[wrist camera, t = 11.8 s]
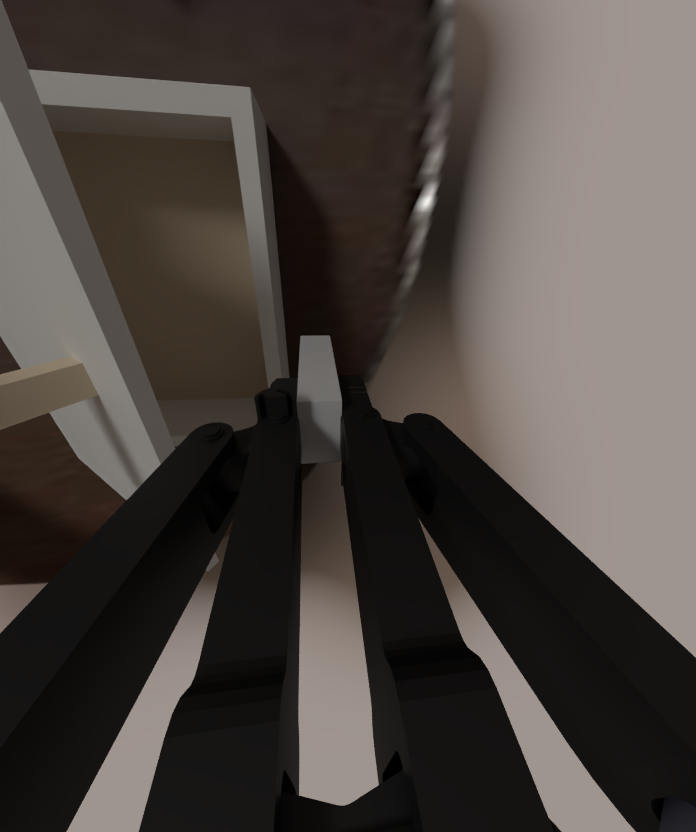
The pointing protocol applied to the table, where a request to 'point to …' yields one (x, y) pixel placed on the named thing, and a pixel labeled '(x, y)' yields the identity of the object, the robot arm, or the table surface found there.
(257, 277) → the box
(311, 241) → the table surface
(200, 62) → the table surface
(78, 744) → the robot arm
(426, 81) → the table surface
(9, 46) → the lid
